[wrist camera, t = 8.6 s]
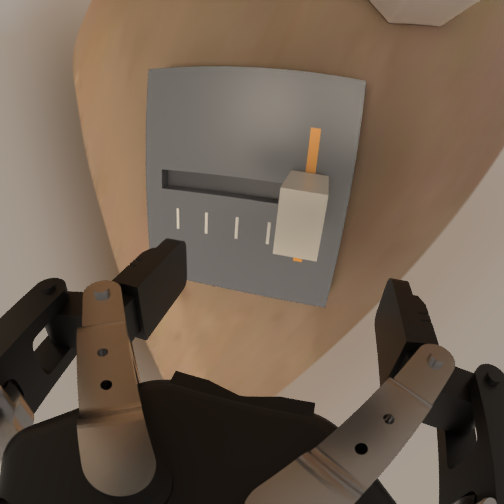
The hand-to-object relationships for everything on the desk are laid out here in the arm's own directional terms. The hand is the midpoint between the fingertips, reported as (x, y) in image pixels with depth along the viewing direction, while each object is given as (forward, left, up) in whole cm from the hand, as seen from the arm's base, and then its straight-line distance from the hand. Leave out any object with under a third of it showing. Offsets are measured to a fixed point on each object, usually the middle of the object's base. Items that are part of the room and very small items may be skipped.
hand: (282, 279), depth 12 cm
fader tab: (0, 0, -12) cm, 12 cm away
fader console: (0, -5, -15) cm, 15 cm away
